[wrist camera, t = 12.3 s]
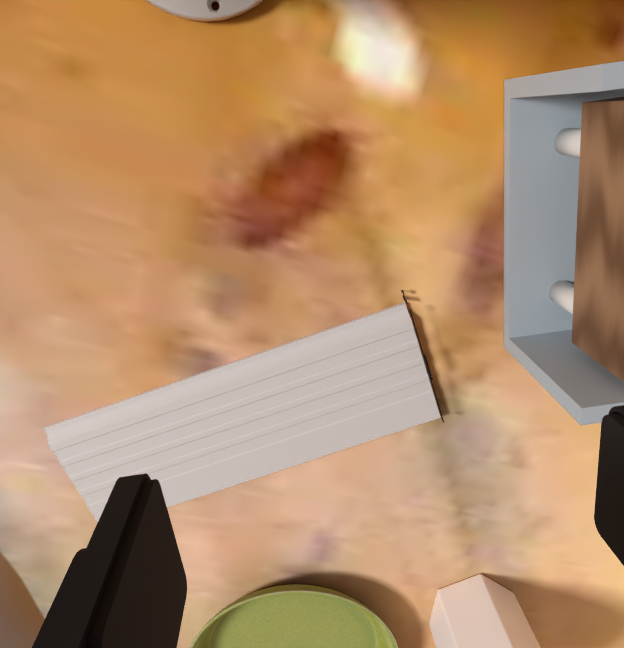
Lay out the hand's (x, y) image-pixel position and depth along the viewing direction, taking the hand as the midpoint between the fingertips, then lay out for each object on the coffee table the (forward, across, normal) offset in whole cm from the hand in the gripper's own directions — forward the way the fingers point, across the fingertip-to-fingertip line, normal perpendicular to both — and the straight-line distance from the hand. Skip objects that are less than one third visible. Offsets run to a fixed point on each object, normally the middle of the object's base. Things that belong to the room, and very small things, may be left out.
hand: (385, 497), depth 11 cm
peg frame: (+30, -20, +2) cm, 36 cm away
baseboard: (+31, +7, +15) cm, 35 cm away
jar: (+31, -11, +40) cm, 52 cm away
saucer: (+31, +7, +42) cm, 53 cm away
